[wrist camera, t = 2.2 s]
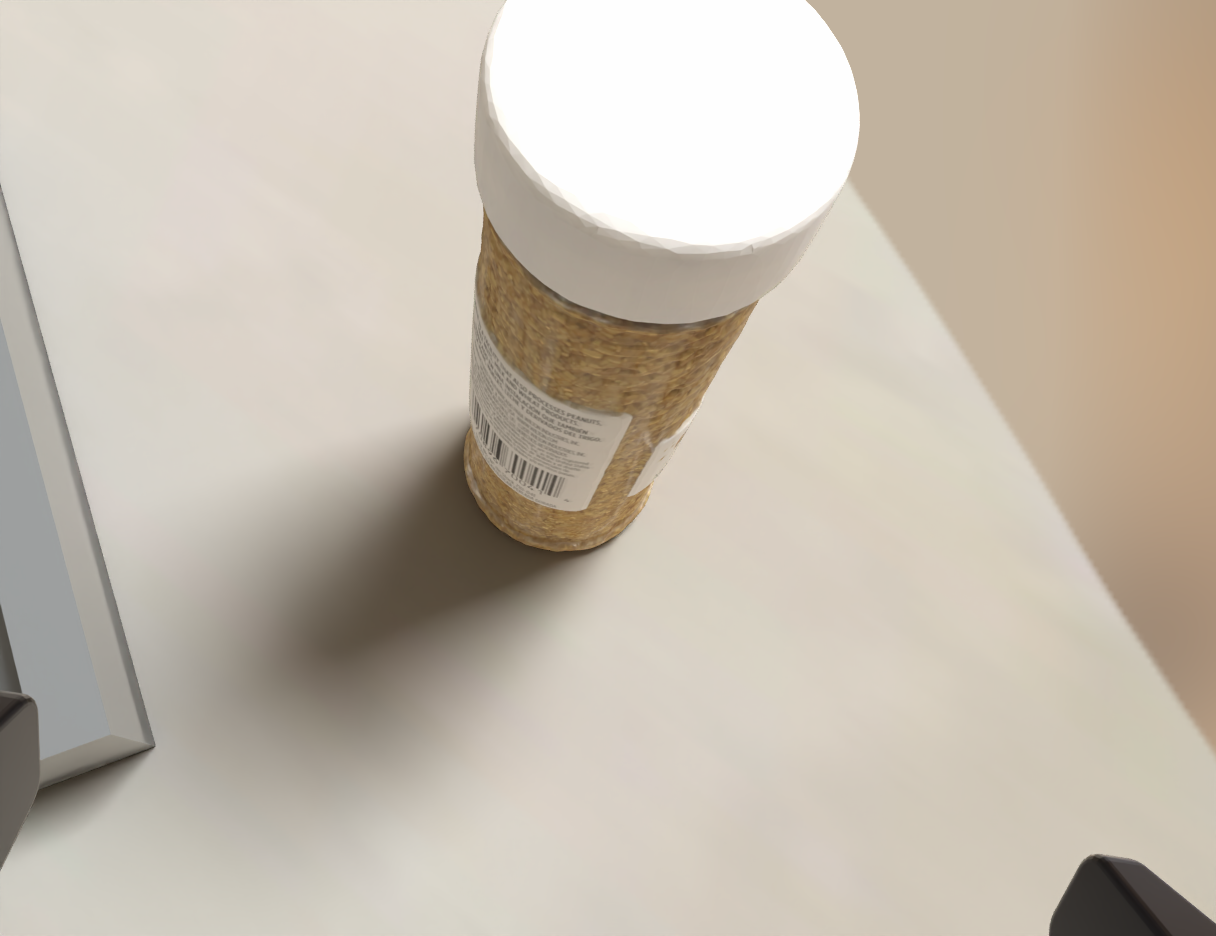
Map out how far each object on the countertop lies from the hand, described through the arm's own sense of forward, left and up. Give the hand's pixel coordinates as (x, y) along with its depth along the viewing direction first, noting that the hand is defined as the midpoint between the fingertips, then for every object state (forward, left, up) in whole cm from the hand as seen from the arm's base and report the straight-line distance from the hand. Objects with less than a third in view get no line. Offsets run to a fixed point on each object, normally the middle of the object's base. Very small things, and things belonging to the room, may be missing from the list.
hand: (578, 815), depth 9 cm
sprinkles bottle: (+4, +7, -14) cm, 16 cm away
